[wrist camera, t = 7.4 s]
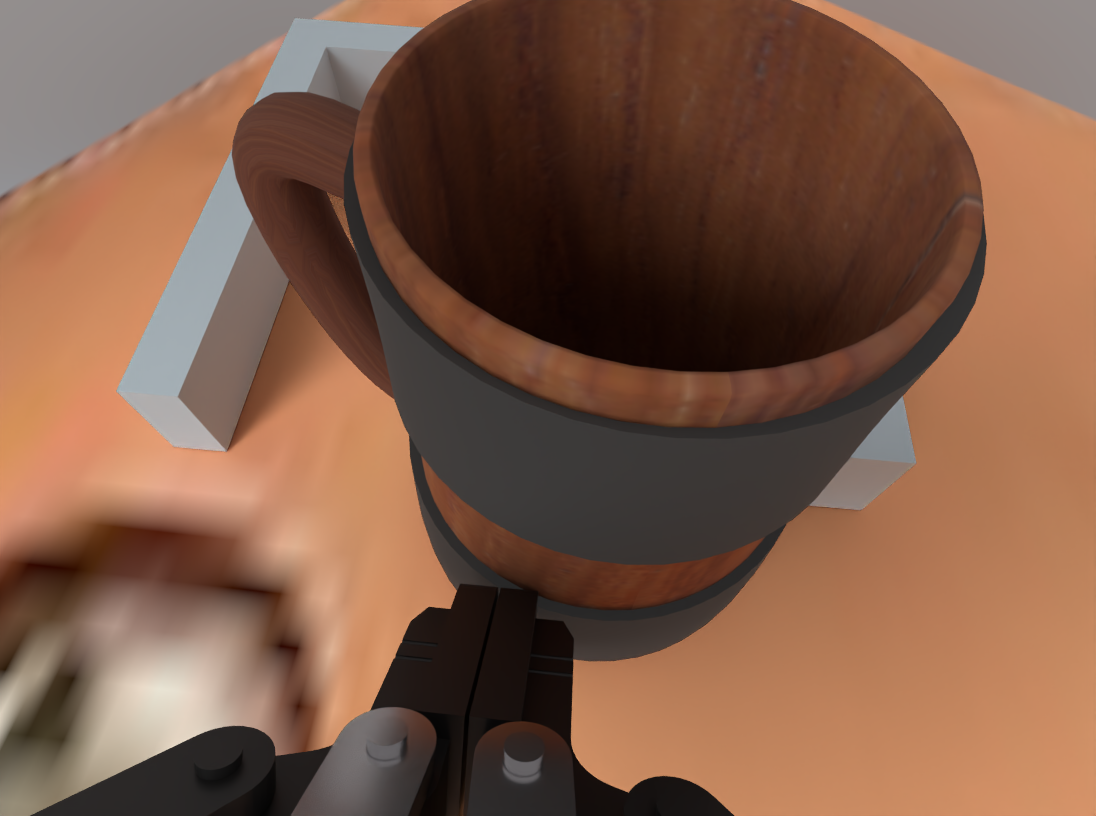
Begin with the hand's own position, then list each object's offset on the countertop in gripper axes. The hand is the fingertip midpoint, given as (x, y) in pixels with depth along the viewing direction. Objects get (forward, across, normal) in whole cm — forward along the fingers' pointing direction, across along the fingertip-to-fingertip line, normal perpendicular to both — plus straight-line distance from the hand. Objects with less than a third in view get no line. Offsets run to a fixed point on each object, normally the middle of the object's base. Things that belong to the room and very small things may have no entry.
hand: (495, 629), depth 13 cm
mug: (+6, 0, -1) cm, 6 cm away
